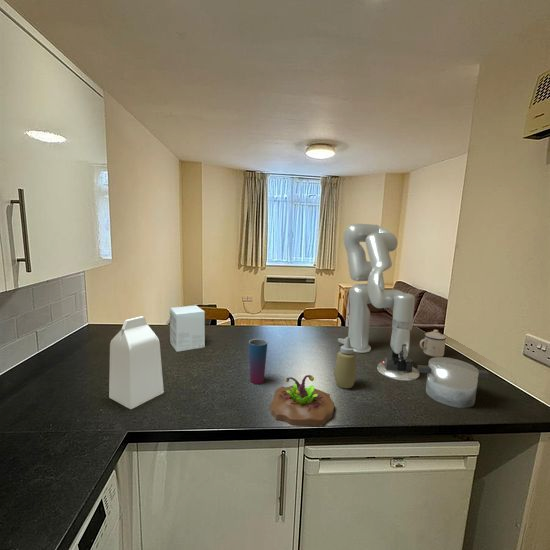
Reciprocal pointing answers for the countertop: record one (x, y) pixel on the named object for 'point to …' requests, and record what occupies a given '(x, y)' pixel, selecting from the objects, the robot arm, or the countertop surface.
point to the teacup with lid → (434, 344)
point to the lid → (391, 370)
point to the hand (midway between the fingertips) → (398, 365)
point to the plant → (301, 404)
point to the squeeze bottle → (345, 366)
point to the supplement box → (187, 328)
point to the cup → (257, 360)
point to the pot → (452, 381)
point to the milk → (135, 364)
